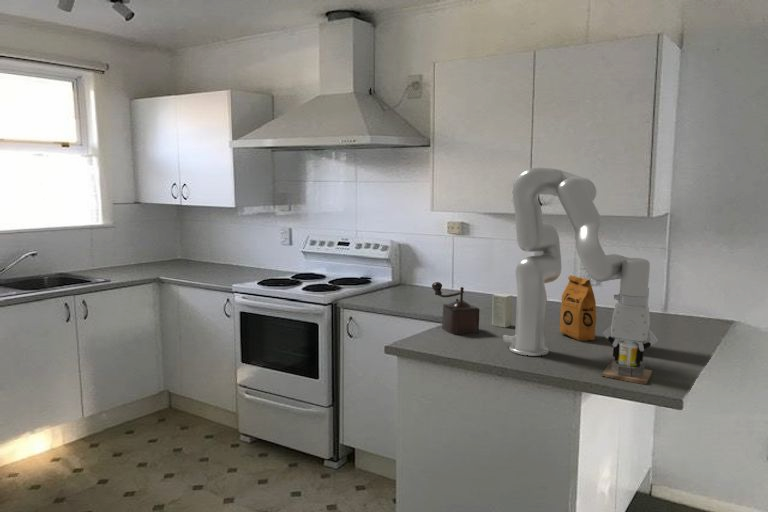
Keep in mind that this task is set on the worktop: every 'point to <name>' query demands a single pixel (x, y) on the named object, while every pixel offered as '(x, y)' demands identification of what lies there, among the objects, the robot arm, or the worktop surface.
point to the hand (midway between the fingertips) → (627, 360)
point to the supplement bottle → (628, 353)
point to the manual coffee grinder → (458, 314)
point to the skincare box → (501, 310)
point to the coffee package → (578, 310)
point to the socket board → (628, 373)
